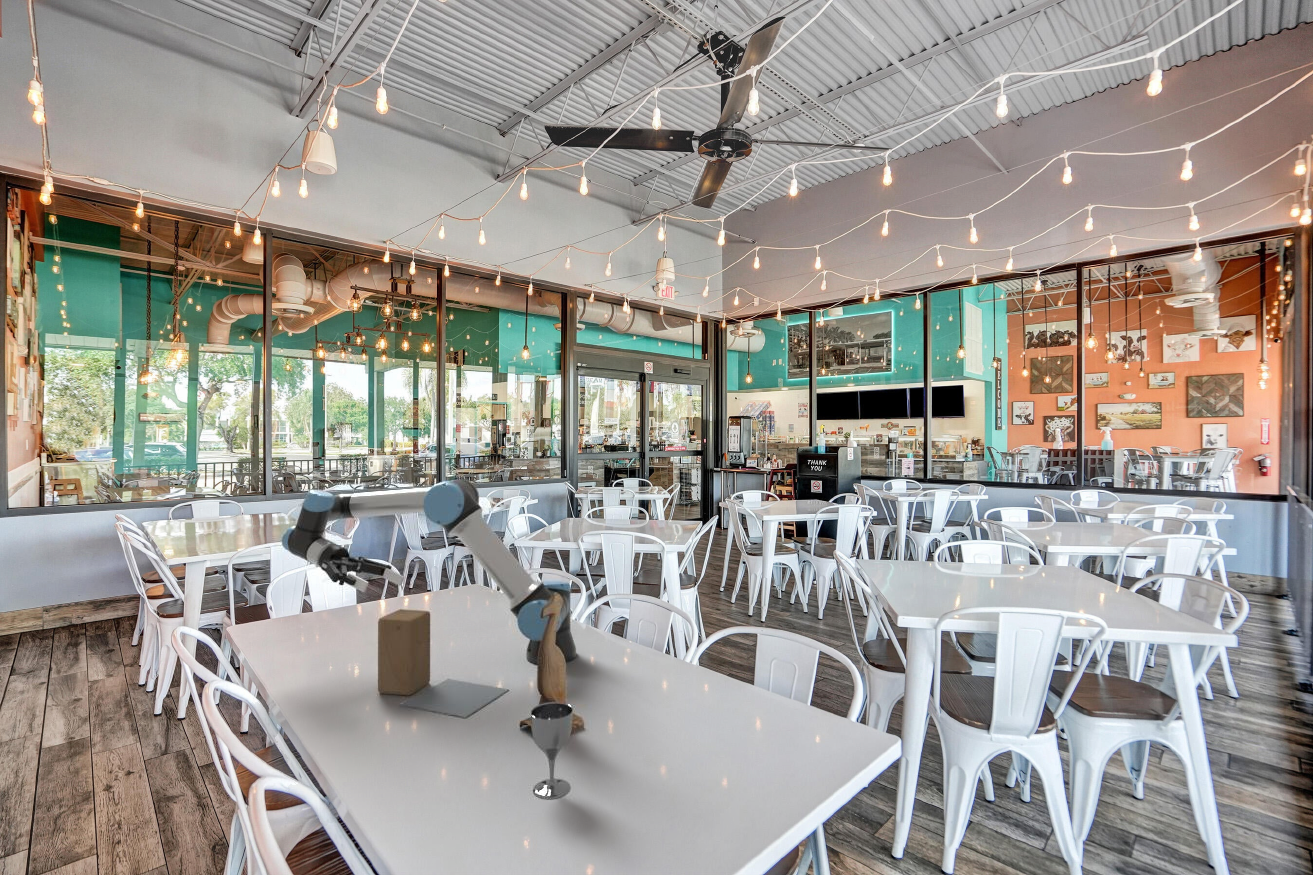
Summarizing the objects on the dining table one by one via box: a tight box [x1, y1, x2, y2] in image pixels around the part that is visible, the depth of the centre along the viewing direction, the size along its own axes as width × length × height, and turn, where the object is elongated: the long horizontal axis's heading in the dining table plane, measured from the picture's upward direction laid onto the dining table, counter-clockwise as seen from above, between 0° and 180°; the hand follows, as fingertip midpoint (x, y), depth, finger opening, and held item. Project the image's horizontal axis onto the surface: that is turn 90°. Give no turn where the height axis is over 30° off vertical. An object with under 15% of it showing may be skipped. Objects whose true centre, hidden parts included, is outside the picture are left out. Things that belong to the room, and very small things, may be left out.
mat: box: [399, 678, 510, 719], centre depth 163 cm, size 20×18×1 cm
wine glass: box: [530, 702, 574, 800], centre depth 121 cm, size 8×8×15 cm
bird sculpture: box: [518, 592, 585, 734], centre depth 145 cm, size 11×12×32 cm
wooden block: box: [377, 608, 431, 696], centre depth 169 cm, size 10×10×20 cm
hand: (384, 584), depth 172 cm, fingers open, 13 cm apart
